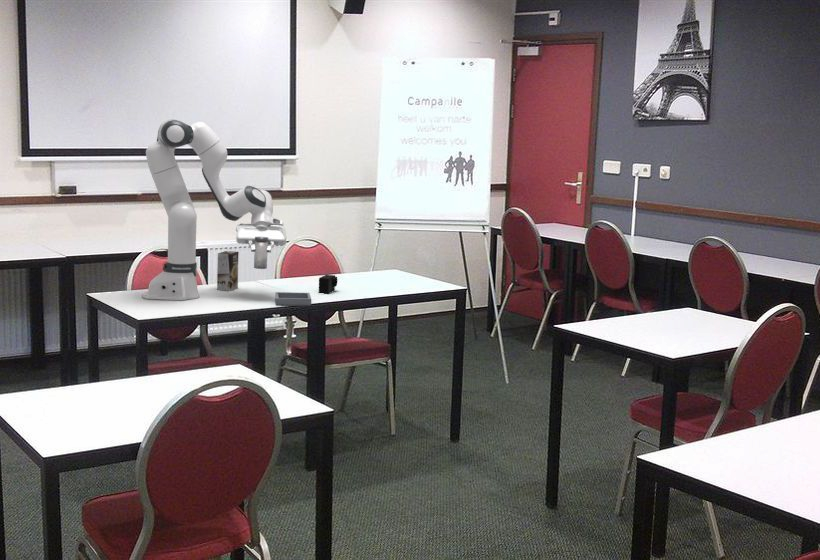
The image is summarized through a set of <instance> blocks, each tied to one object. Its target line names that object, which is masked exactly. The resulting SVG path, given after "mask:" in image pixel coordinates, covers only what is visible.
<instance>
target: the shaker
mask: <svg viewBox="0 0 820 560" xmlns="http://www.w3.org/2000/svg"><path fill="white" fill-rule="evenodd" d="M254 246H255V252H253V253H254V257H253V258H254V259H253V260H254V261H253V268H254V269H257V270H266V269H268V252H267V251H268V247H269V245H268V237H262V236H256V237H255V244H254Z"/></svg>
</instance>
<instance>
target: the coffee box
mask: <svg viewBox="0 0 820 560" xmlns="http://www.w3.org/2000/svg"><path fill="white" fill-rule="evenodd" d="M216 269H217V272H216V273H217V275H216V278H217V279H216V280H217V282H216V283H217V284H216V290H217V289H218V290H217V291H224V290H226V291H225V292H231V291H233V289H234V290H236V289H238V288H239V251H226V250H225V251H221V252H218V253H217V268H216Z"/></svg>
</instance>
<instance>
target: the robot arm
mask: <svg viewBox="0 0 820 560" xmlns="http://www.w3.org/2000/svg"><path fill="white" fill-rule="evenodd" d="M185 145H188V146H189V147H191V148H192V149H193V151H194V152H195V154H196V155H197V157H198V158H199V160H200V162H201V165H202V168H201V172H202V176H203V178H204V180H205V182H206V184H207V186H208V188H209V190H210V191H211V193H212V195H213V197H214V199H215V201H216V202H217V205H218V207H219V210H220V212H221V215H222V216H223V217H224V219H226V220H228V221H229V220H230V221H233V222H236V221H238V220H240V219H241V218H243V217H244V216H245V215H247V214H249V213H250V214H251V219H250V223H240V224H237V225H236V226H235V231H236V243H237V244H242V245H248V247H249V248H250V252H252V253H255V237H256V236H262V237H268V251H267V253H272V250H273V248H274V247H275V246H285V245H286V244H287V231H286V228H285V226H284V221H283V220H282V219H279V218H276V217H273V212H274V204H273V203H274V202H273V197H272V195H271V193H270V192H268V191H267V190H264V189H259V188H256V187H255V186H253V185H246V186H244V187H243V188H241V189H238V191H237V192H235V193H233V194H231V195H229V193H228V192H227V190H226V189H225V186H224V185H223V183H222V181H221V180H220V172H221V170H222V168H223V167H224V166H225V164H226V162H227V159H228V150H227V147H226V146H225V144H224V142H223V141H222V140H221V138H220V137H219V136H218V135H217V134H216V133H215V131H214V130H213V129H212V128H211V127H210V126H209V125H208V124H207V123H206V122H203V121H196V122H194V123H191V124H190V125H189V124H186V123H185V122H183V121H181V120H178V119H167V120H165V121H163V123H161V125H160V126H159V127H158V131H157V137H156V142H154V143H151V144H150V145H149V146H148V147H147V148H146V150H145V157H146V162H147V166H148V169H149V172H150V174H151V177H152V180H153V183H154V185H155V187H156V190H157V192H158V195H159V197H160V200H161V202H162V205H163V208H164V209H165V211H166V212H165V213H166V215H167V223H168V224H167V225H168V226H167V228H168V229H167V261H163V263H162V272H160V273H159V274H157V275H156V276H155V277H154V278H152V279H151V280H150V282H149V284H148V289H147V291H144V292H143V293H142V298H143V299H146V300H161V301H162V300H163V301H164V300H165V301H185V300H192V299H197V298H199V297H200V293H199V289H198V283H197V275H198V265H197V262H196V261H197V258H196V257H197V256H196V255H197V251H196V249H197V245H196V244H197V243H196V242H197V212H196V209H195V206H194V204H193V202H192V198H191V196H190V194H189V191H188V188H187V186H186V183H185V180H184V177H183V175H182V173H181V169H180V167H179V165H178V162H177V160H176V157H175V150H176V148H180V147H183V146H185Z"/></svg>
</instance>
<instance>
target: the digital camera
mask: <svg viewBox="0 0 820 560" xmlns="http://www.w3.org/2000/svg"><path fill="white" fill-rule="evenodd" d="M337 285H338V277H337V276H336V275H335V274H334V275H333V274H325V275H322V276H321V277H319V278H318V294H319V293H324V294H323V295H329V294H331V293H332V291H333V292H335V291H334V290H336V287H337ZM330 292H331V293H330Z"/></svg>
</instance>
